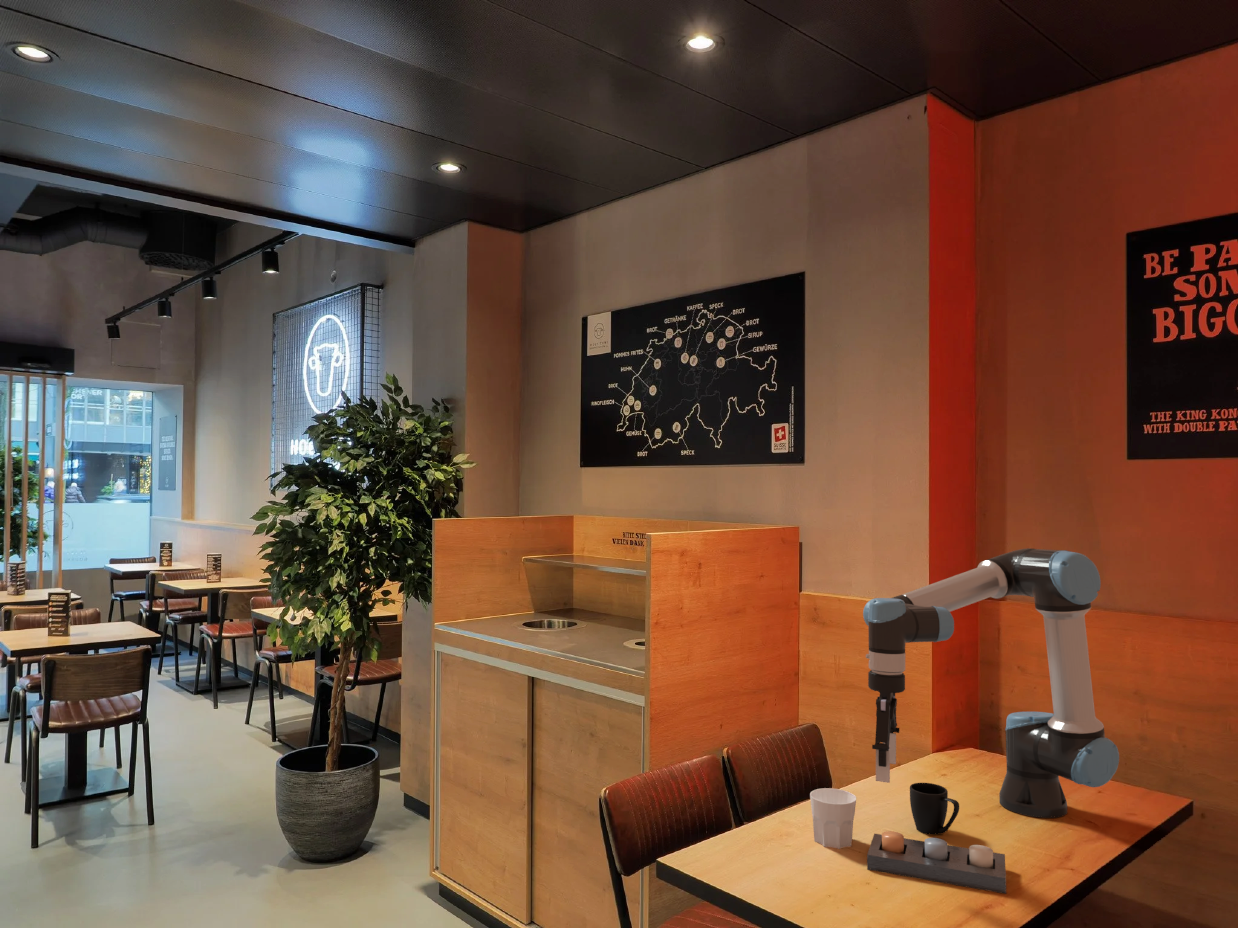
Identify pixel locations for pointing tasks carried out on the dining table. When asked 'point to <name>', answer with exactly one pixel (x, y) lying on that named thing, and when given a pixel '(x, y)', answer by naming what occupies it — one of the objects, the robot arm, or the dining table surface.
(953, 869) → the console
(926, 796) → the mug
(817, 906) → the dining table surface
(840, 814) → the cup
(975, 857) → the button cream
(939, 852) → the button slate
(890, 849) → the button orange
